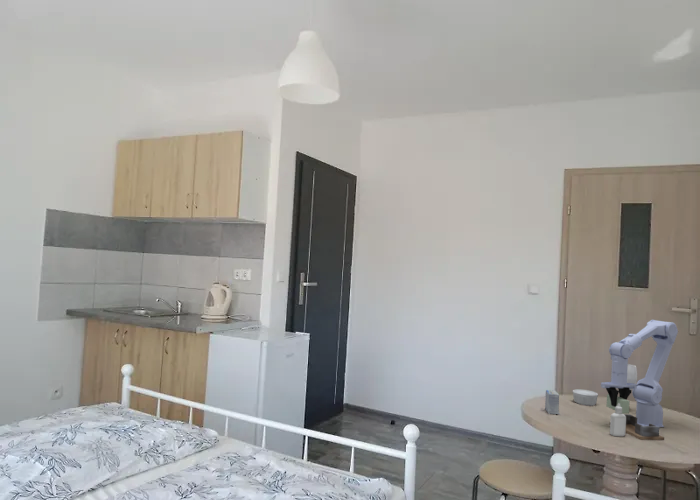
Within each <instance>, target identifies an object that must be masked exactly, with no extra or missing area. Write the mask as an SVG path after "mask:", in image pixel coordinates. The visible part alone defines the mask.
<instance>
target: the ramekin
mask: <svg viewBox="0 0 700 500" xmlns="http://www.w3.org/2000/svg"><path fill="white" fill-rule="evenodd" d="M598 396H599V394H598V392H596V391H593V390H588V389H573V390H572V397H573V401H574V402H575V403H576V404H578V405H583V406H589V407H590V406H591V407H592V406H595V405H596V404H597V402H598V398H599V397H598Z"/></svg>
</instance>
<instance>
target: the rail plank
mask: <svg viewBox="0 0 700 500" xmlns="http://www.w3.org/2000/svg"><path fill="white" fill-rule="evenodd" d="M618 403H619V404H620V406H621V407H622V414H630V400H628V399H627V400H626V399H623V398H621V397H619V395H618V396H617V405H618ZM617 405H616V406H617ZM606 407H607V408H609V409H612V410H613V411H615V407H614V406H612V405H611V400H610V397H609V394H608V393H607V394H606Z"/></svg>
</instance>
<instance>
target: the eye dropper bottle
mask: <svg viewBox="0 0 700 500" xmlns="http://www.w3.org/2000/svg"><path fill="white" fill-rule="evenodd" d="M609 434H610V435H611V436H613V437H625V436H626V416H625V415H624V414H622V407H621V406H620V404H619V403H618V405H617V406H616V407H615V410H614V412H613V413H611V414H610V421H609Z"/></svg>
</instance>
